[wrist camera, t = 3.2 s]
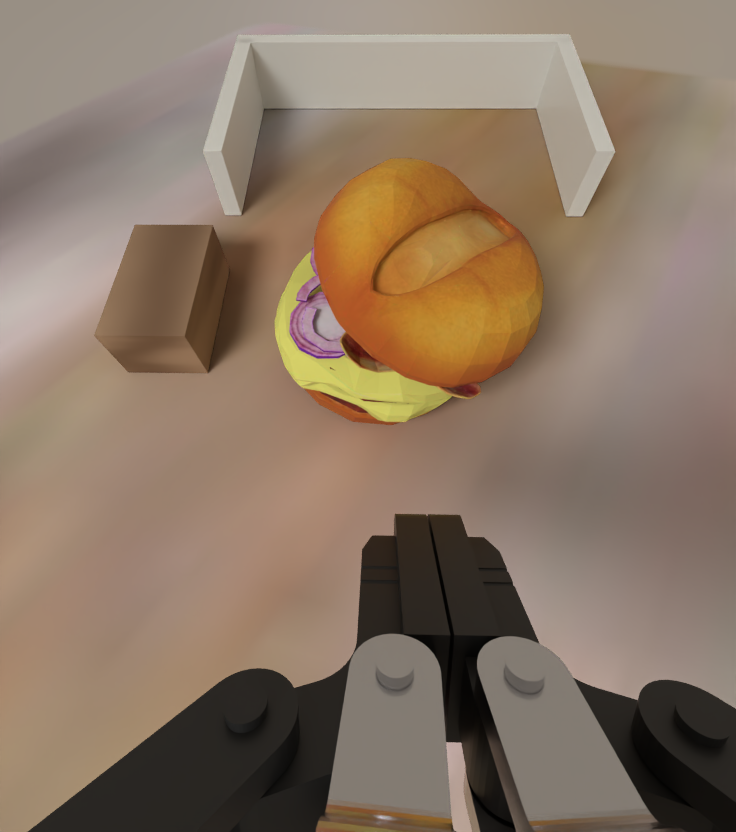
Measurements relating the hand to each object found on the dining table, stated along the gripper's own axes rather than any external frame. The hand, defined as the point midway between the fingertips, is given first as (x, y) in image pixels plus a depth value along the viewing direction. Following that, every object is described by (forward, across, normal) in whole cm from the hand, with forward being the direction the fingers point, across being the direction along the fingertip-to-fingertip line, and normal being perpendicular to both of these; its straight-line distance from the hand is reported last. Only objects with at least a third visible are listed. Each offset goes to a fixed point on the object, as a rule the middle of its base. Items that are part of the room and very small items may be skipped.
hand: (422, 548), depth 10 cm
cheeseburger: (+14, 0, -2) cm, 14 cm away
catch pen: (+25, 0, -14) cm, 28 cm away
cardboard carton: (+15, +12, -4) cm, 19 cm away
